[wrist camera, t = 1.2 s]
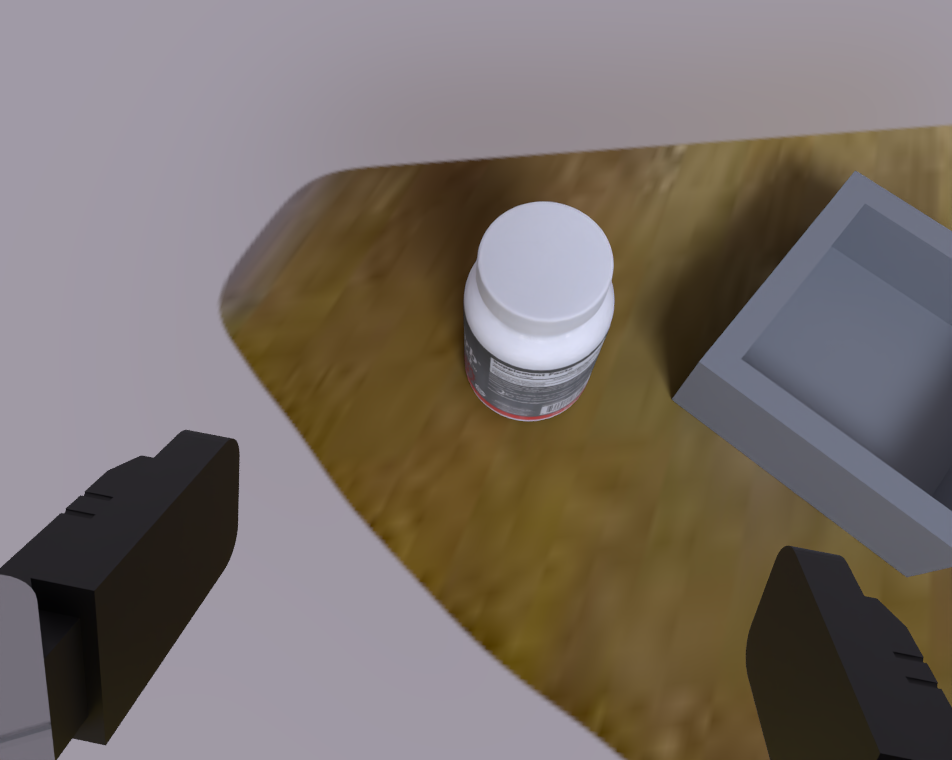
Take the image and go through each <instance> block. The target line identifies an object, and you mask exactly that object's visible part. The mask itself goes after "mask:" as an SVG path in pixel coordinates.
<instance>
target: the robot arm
mask: <svg viewBox="0 0 952 760" xmlns="http://www.w3.org/2000/svg"><path fill="white" fill-rule="evenodd" d="M238 494H239V446H238V443H237V441H236V440H235V439H231V438H226V437H221V436H216V435H211V434H205V433H200V432H194V431H190V430H184V431H182V432H180V433H179V434H178V435H177V436H176V437H175V438H174V439H173V440H172V441H171V442H170V443H169V444H168V445H167V446H166V447H164V448H163V449H162V450H161V451H160V452H159V453H158V454H157V455H156V456H155V457H154V458H151V457H146V456H139V457H137V458H135V459H132V460H130V461H128V462H126V463H124V464H121V465H119V466H117V467H115V468H113V469H110V470H108V471H107V472H106V473H105V474H104V475H103V476H101V477H100V478H99V479H98V480H97V481H96V482H95V483H94V484H93V485H91V487H89V488H88V489H87V490H86V491H85V494H84V496H79V497H78V498H77V499H76V500H75V501H74V502H73V503H72V504H71V505H69V506H68V507H67V508H66V512H65V513H64V514H63V513H61V514H59V515H58V516H57V517H56V518H55V519H54V520H53V521H52V522H51V523H50V524H48V526H46V527H45V528H44V529H43V530H42V531H41V532H40V533H38V534H37V535H36V536H35V537H34V538H33V539H32V540H31V541H30V542H29V543H27V544H26V545H25V546H24V547H23V548H22V549H21V550H20V551H19V552H17V553H16V554H15V555H14V556H13V557H12V558H11V559H10V560H9V561H7V562H6V563H5V564H4V565H3V566H2V567H1V568H0V760H57V758H58V757H59V756H60V754H61V753H62V752H63V750H64V749H65V748H66V746H67V745H68V743H69V742H70V741H71V739H72V738H74V739H78V740H83V741H88V742H93V743H97V744H102V745H106V744H107V742H108V741H109V740H110V738H111V737H112V735H113V734H114V732H115V731H116V729H117V728H118V726H119V725H120V723H121V722H122V721H123V719H124V718H125V716H126V715H127V713H128V712H129V710H130V709H131V707H132V705H133V704H134V703H135V701H136V700H137V698H138V697H139V695H140V694H141V692H142V691H143V689H144V688H145V686H146V685H147V683H148V682H149V680H150V679H151V678H152V676H153V675H154V673H155V672H156V670H157V669H158V667H159V666H160V664H161V662H162V661H163V660H164V658H165V657H166V655H167V654H168V652H169V651H170V649H171V648H172V646H173V645H174V644H175V642H176V641H177V639H178V638H179V636H180V634H181V633H182V632H183V630H184V629H185V627H186V626H187V624H188V623H189V621H190V620H191V618H192V617H193V615H194V614H195V612H196V611H197V609H198V608H199V606H200V605H201V604H202V602H203V601H204V599H205V598H206V596H207V595H208V593H209V591H210V590H211V589H212V587H213V586H214V584H215V583H216V581H217V580H218V578H219V577H220V575H221V574H222V572H223V571H224V569H225V568H226V566H227V564H228V562H229V560H230V557H231V555H232V552H233V549H234V545H235V541H236V537H237V530H238V497H239V495H238ZM923 658H924V657H923V656H922V654H921V652H920V650H919V648H918V647H917V645H916V643H915V641H914V640H913V638H912V636H911V634H910V632H909V631H908V629H907V627H906V626H905V625H904V624H903V623H902V622H901V621H900V620H899V619H897V618H896V617H895V616H894V615H893V614H892V613H891V612H890V611H889V610H888V609H887V608H886V607H885V606H884V605H883V604H882V603H881V602H880V601H879V600H878V599H876V598H871V597H866V596H864V595H863V593H862V591H861V589H860V587H859V585H858V583H857V581H856V579H855V577H854V575H853V574H852V572H851V570H850V568H849V566H848V564H847V562H846V560H845V559H844V558H843V557H842V556H840V555H835V554H829V553H824V552H819V551H813V550H808V549H803V548H798V547H792V546H785V547H783V548H782V549H781V551H780V552H779V554H778V555H777V558H776V560H775V563H774V565H773V568H772V571H771V573H770V576H769V579H768V581H767V584H766V587H765V590H764V592H763V595H762V598H761V600H760V603H759V606H758V608H757V611H756V614H755V616H754V619H753V622H752V625H751V627H750V630H749V634H748V639H747V646H746V668H747V674H748V678H749V682H750V686H751V690H752V693H753V697H754V701H755V705H756V708H757V712H758V716H759V720H760V723H761V727H762V731H763V735H764V738H765V742H766V746H767V750H768V753H769V757H770V760H952V707H951V706H950V704H949V702H948V700H947V698H946V697H945V695H944V693H943V691H942V689H938V688H937V683H938V682H937V681H936V679H935V677H934V675H933V673H932V672H931V670H930V668H929V666H928V665H927V663H923Z"/></svg>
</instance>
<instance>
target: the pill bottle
mask: <svg viewBox="0 0 952 760" xmlns="http://www.w3.org/2000/svg"><path fill="white" fill-rule="evenodd" d="M612 275H613V254H612V250H611V247H610V244H609V242H608V240H607V237H606V236H605V234H604V233H603V231H602V229H601V228H600V227H599V226H598V225H597V224H596V223H595V222H594V221H593V220H592V219H591V218H590V217H588V216H587V215H585V214H584V213H582V212H581V211H579V210H577V209H575V208H573V207H570V206H567V205H564V204H560V203H555V202H531V203H527V204H522V205H519V206H516V207H514V208H512V209H510V210H508V211H506V212H505V213H503V214H502V215H500V216H499V217H498V218H497V219H496V220H495V221H494V222H493V223H492V224H491V225H490V226H489V228H488V229H487V230H486V232H485V233H484V236H483V238H482V240H481V242H480V245H479V249H478V256H477V260H476V262H475V263H474V265H473V267H472V269H471V271H470V273H469V276H468V278H467V281H466V285H465V290H464V307H463V308H464V358H465V368H466V373H467V377H468V380H469V382H470V385H471V387H472V388H473V390H474V392H475V393H476V395H477V396H478V397H479V399H480V400H481V401H482V402H483V403H484V404H485V405H486V406H488V407H489V408H490V409H492V410H493V411H495V412H496V413H498V414H500V415H503V416H505V417H508V418H511V419H515V420H520V421H538V420H543V419H547V418H550V417H553V416H555V415H558V414H560V413H561V412H563V411H565V410H566V409H567V408H569V407H570V406H571V405H572V404H573V403H574V402H575V401H576V400H577V399H578V398H579V396H580V395H581V393H582V392H583V390H584V389H585V387H586V385H587V382H588V380H589V377H590V375H591V372H592V370H593V367H594V365H595V362H596V360H597V357H598V355H599V352H600V349H601V347H602V344H603V342H604V340H605V338H606V335H607V333H608V330H609V327H610V323H611V320H612V316H613V311H614V290H613V285H612V281H611V279H612Z"/></svg>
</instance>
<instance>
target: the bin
mask: <svg viewBox="0 0 952 760" xmlns="http://www.w3.org/2000/svg"><path fill="white" fill-rule="evenodd" d="M672 400H673V401H674V402H676V403H677V404H678V405H680V406H681V407H682V408H684V409H685V410H686V411H688V412H689V413H690V414H692V415H693V416H694V417H695V418H697V419H698V420H699V421H701V422H702V423H703V424H705V425H706V426H707V427H709V428H710V429H711V430H713V431H714V432H715V433H717V434H718V435H719V436H721V437H722V438H723V439H725V440H726V441H727V442H729V443H730V444H731V445H733V446H734V447H735V448H737V449H738V450H739V451H740V452H742V453H743V454H744V455H746V456H747V457H748V458H750V459H751V460H752V461H754V462H755V463H756V464H758V465H759V466H760V467H762V468H763V469H764V470H766V471H767V472H768V473H770V474H771V475H772V476H774V477H775V478H776V479H778V480H779V481H780V482H782V483H783V484H784V485H785V486H787V487H788V488H789V489H791V490H792V491H793V492H795V493H796V494H797V495H799V496H800V497H801V498H803V499H804V500H805V501H807V502H808V503H809V504H811V505H812V506H813V507H815V508H816V509H817V510H819V511H820V512H821V513H823V514H824V515H825V516H827V517H828V518H829V519H831V520H832V521H833V522H834V523H836V524H837V525H838V526H840V527H841V528H842V529H844V530H845V531H846V532H848V533H849V534H850V535H852V536H853V537H854V538H856V539H857V540H858V541H860V542H861V543H862V544H864V545H865V546H866V547H868V548H869V549H870V550H872V551H873V552H874V553H876V554H877V555H878V556H879V557H881V558H882V559H883V560H885V561H886V562H887V563H889V564H890V565H891V566H893V567H894V568H895V569H897V570H898V571H899V572H901V573H902V574H903V575H905V576H906V577H910V576H914V575H919V574H923V573H927V572H932V571H936V570H940V569H945V568H949V567H952V231H950V230H949V229H947V228H946V227H944V226H942V225H941V224H939V223H938V222H936V221H934V220H933V219H931V218H930V217H928V216H927V215H925V214H923V213H922V212H920V211H919V210H917V209H915V208H914V207H912V206H911V205H909V204H908V203H906V202H904V201H903V200H901V199H900V198H898V197H896V196H895V195H893V194H892V193H890V192H889V191H887V190H885V189H884V188H882V187H881V186H879V185H877V184H876V183H874V182H873V181H871V180H870V179H868V178H866V177H865V176H863V175H862V174H860V173H858V172H857V171H855V172H854V173H853V174H852V175H851V177H850V178H849V179H848V180H847V181H846V183H845V184H844V185H843V186H842V188H841V189H840V190H839V191H838V192H837V194H836V195H835V196H834V197H833V199H832V200H831V201H830V202H829V203H828V205H827V206H826V207H825V208H824V210H823V211H822V212H821V213H820V214H819V216H818V217H817V218H816V219H815V221H814V222H813V223H812V224H811V225H810V227H809V228H808V229H807V230H806V232H805V233H804V234H803V235H802V236H801V238H800V239H799V240H798V241H797V243H796V244H795V245H794V246H793V247H792V249H791V250H790V251H789V252H788V254H787V255H786V256H785V257H784V259H783V260H782V261H781V262H780V263H779V265H778V266H777V267H776V268H775V270H774V271H773V272H772V273H771V274H770V276H769V277H768V278H767V279H766V281H765V282H764V283H763V284H762V285H761V287H760V288H759V289H758V290H757V292H756V293H755V294H754V295H753V296H752V298H751V299H750V300H749V301H748V303H747V304H746V305H745V306H744V307H743V309H742V310H741V311H740V312H739V314H738V315H737V316H736V317H735V318H734V320H733V321H732V322H731V323H730V325H729V326H728V327H727V328H726V330H725V331H724V332H723V333H722V334H721V336H720V337H719V338H718V339H717V341H716V342H715V343H714V344H713V345H712V347H711V348H710V349H709V350H708V352H707V353H706V354H705V355H704V356H703V358H702V359H701V360H700V361H699V363H698V364H697V365H696V367H695V368H694V370H693V371H692V372H691V374H690V375H689V376H688V378H687V379H686V381H685V382H684V383H683V385H682V386H681V387H680V389H679V390H678V392H677V393H676V394H675V396H674V397H673V398H672Z"/></svg>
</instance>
